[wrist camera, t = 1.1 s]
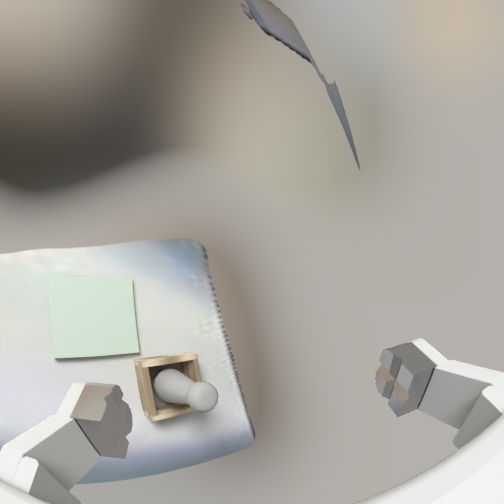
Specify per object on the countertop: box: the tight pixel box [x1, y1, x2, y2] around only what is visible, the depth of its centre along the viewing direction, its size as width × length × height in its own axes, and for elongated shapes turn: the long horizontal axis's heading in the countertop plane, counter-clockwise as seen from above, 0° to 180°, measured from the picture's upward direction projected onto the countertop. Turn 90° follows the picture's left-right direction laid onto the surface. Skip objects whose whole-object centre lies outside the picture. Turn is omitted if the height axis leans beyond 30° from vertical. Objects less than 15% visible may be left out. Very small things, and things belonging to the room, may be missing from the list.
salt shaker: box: [153, 369, 218, 412], centre depth 36 cm, size 6×6×13 cm
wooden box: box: [134, 352, 201, 421], centre depth 39 cm, size 10×10×4 cm
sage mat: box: [48, 274, 139, 358], centre depth 35 cm, size 14×12×1 cm
